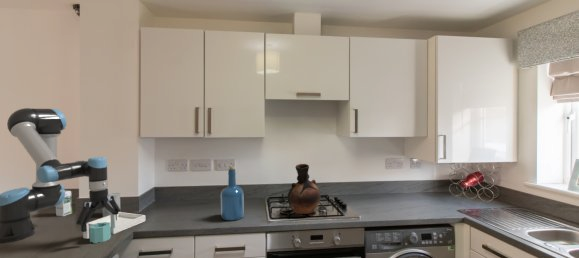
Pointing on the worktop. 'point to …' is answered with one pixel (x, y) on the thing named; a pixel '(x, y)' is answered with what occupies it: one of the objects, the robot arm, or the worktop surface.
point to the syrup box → (65, 205)
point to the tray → (121, 221)
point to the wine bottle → (232, 199)
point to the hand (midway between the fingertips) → (100, 232)
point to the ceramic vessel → (303, 192)
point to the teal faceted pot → (100, 232)
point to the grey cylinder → (117, 200)
